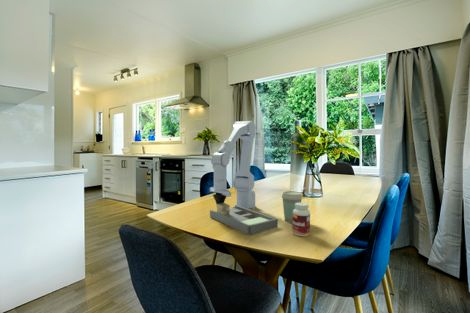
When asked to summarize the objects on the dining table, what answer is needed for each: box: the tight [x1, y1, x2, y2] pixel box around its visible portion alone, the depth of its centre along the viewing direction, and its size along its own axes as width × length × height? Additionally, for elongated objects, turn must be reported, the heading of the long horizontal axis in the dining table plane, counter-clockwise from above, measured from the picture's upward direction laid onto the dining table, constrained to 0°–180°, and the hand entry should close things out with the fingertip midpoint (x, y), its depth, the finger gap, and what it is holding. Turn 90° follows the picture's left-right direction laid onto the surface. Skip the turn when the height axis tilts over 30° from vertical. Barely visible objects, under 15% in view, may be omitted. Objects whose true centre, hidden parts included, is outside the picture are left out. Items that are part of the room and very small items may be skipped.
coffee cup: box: [281, 190, 303, 224], centre depth 104 cm, size 8×8×12 cm
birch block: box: [216, 202, 231, 215], centre depth 108 cm, size 4×4×4 cm
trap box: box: [209, 204, 279, 236], centre depth 103 cm, size 15×27×3 cm, turn 37°
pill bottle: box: [291, 201, 311, 237], centre depth 89 cm, size 6×6×11 cm
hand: (220, 210), depth 110 cm, fingers closed, pressing on birch block
